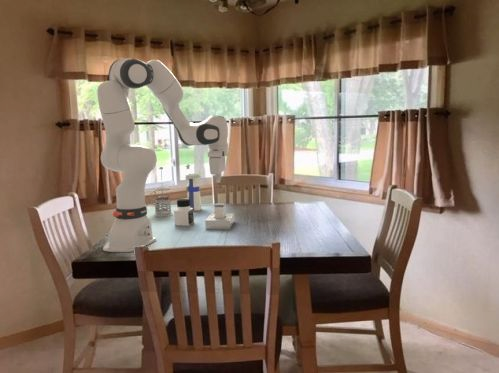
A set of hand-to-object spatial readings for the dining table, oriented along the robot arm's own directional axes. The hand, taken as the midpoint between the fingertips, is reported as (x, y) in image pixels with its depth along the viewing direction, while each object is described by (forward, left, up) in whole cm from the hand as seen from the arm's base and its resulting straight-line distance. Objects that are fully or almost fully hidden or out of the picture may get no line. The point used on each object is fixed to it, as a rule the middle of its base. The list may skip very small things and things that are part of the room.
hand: (218, 182), depth 188 cm
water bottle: (+34, +20, -20) cm, 45 cm away
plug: (0, 0, -19) cm, 19 cm away
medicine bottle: (+2, +17, -20) cm, 27 cm away
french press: (+21, +34, -20) cm, 45 cm away
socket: (0, 0, -20) cm, 20 cm away
